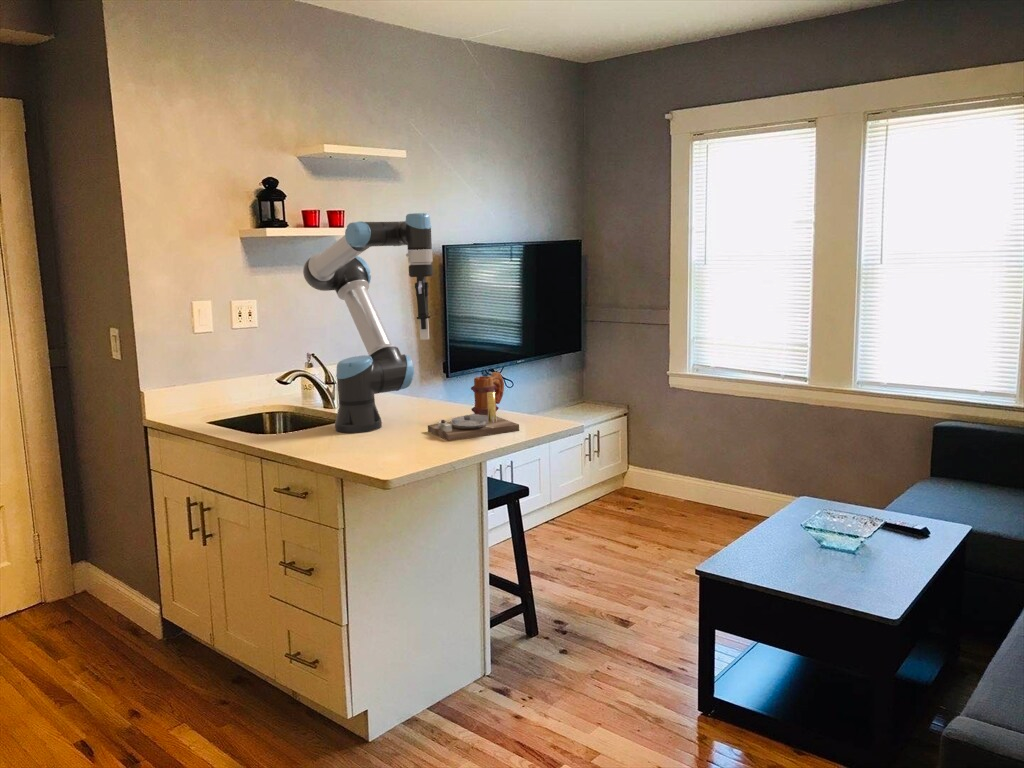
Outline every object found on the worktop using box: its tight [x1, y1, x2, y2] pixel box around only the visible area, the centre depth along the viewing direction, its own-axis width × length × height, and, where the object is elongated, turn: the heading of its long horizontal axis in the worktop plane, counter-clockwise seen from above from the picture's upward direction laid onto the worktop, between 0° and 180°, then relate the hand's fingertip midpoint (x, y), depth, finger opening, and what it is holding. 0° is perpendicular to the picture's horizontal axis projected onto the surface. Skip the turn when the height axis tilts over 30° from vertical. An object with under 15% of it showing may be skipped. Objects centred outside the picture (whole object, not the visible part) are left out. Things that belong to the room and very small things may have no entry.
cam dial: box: [450, 391, 498, 429], centre depth 258 cm, size 16×11×11 cm
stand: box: [427, 416, 520, 442], centre depth 262 cm, size 17×24×5 cm
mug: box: [470, 371, 505, 415], centre depth 282 cm, size 15×8×15 cm, turn 143°
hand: (424, 339), depth 261 cm, fingers closed
